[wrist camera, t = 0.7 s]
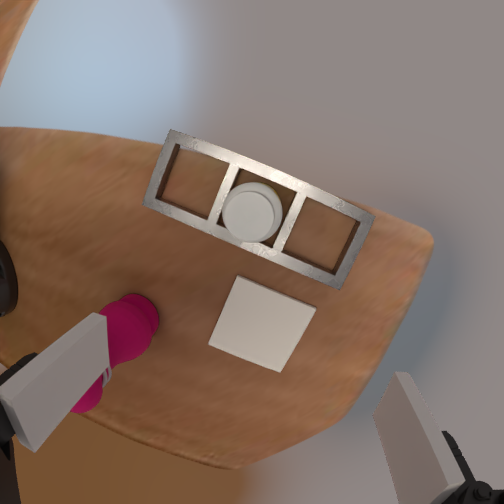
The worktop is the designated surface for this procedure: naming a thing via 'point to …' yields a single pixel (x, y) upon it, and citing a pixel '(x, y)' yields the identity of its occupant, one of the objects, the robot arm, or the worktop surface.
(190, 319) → the worktop surface
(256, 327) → the white mat
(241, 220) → the supplement bottle
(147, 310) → the pepper mill
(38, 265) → the worktop surface
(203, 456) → the worktop surface
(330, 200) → the rack frame
